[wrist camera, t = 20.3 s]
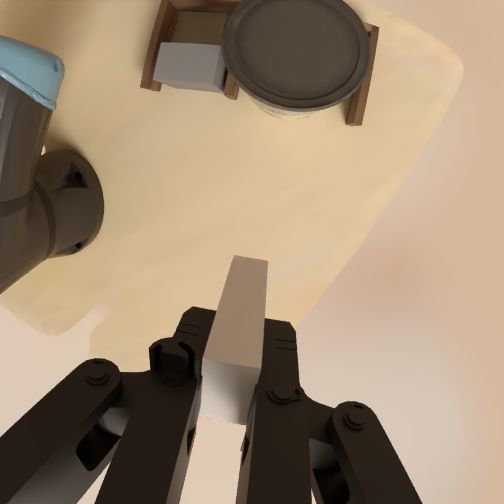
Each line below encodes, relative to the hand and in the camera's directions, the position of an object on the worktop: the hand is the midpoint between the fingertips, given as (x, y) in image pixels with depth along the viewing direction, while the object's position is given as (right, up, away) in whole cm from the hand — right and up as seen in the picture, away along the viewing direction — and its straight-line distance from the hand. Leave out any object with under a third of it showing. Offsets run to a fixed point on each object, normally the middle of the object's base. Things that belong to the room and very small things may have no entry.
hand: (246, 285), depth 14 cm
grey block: (-5, +22, +16) cm, 27 cm away
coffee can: (+4, +21, +16) cm, 26 cm away
